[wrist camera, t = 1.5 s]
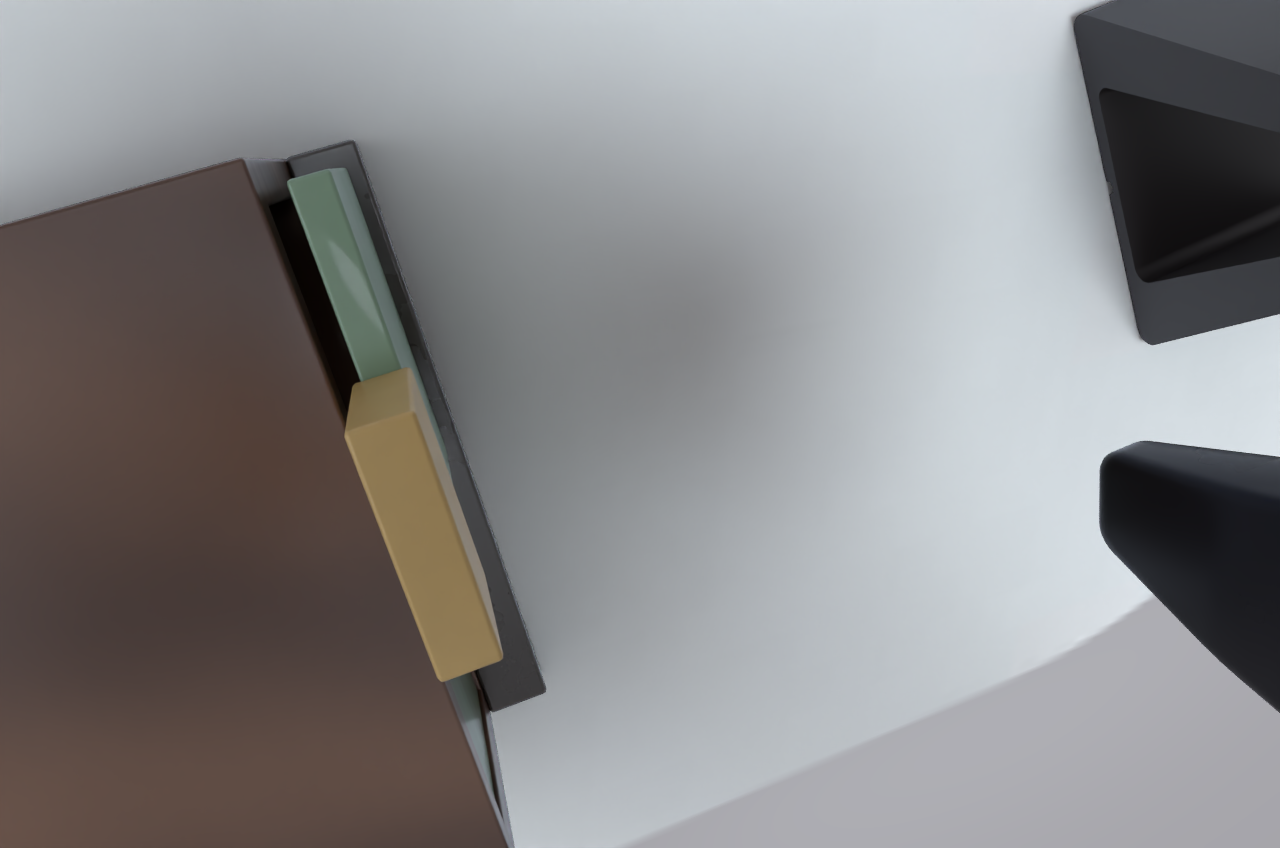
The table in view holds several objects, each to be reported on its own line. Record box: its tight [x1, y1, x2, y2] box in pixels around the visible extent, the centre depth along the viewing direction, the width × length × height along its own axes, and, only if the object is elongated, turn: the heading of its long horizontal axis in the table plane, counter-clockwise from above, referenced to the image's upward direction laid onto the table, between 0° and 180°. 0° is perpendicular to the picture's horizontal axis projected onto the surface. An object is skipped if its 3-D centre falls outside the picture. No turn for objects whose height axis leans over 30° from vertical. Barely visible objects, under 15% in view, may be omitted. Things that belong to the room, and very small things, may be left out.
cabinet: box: [0, 140, 546, 848], centre depth 20 cm, size 14×10×7 cm
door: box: [287, 168, 503, 682], centre depth 18 cm, size 7×1×9 cm, turn 15°
